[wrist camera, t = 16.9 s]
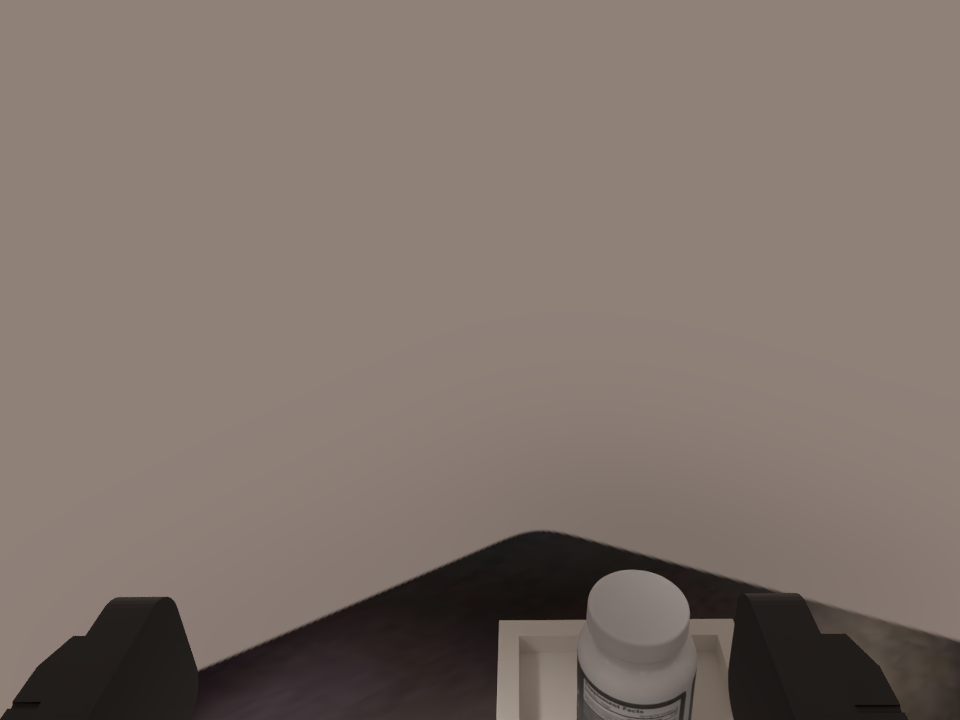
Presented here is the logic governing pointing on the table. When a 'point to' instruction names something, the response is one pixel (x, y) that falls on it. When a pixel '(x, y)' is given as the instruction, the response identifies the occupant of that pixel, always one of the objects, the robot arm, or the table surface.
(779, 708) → the robot arm
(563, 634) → the tray
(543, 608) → the table surface
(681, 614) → the pill bottle
